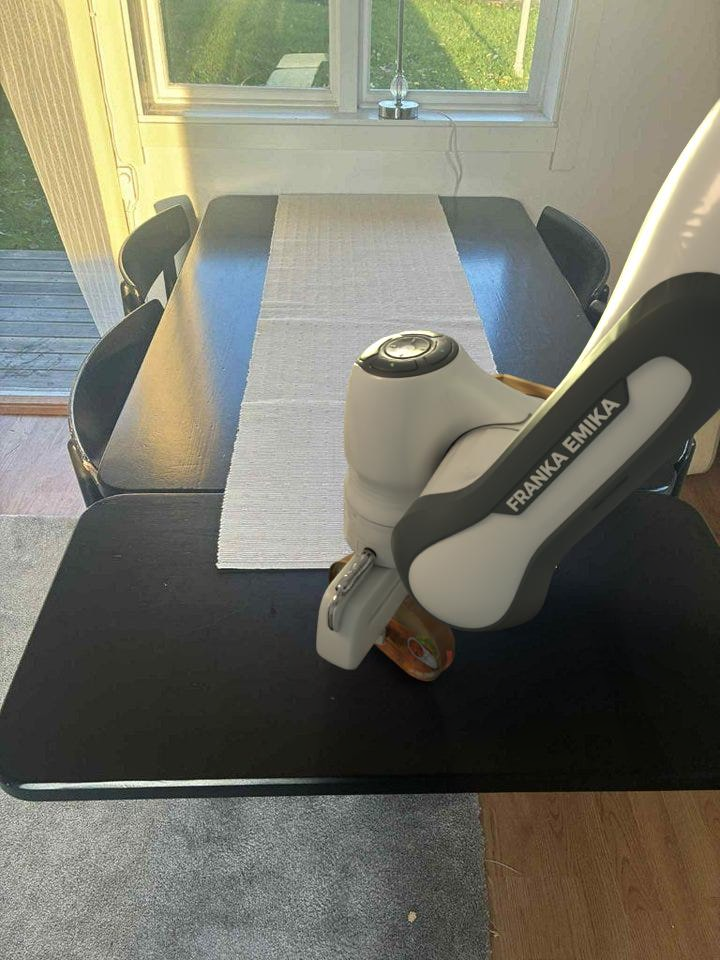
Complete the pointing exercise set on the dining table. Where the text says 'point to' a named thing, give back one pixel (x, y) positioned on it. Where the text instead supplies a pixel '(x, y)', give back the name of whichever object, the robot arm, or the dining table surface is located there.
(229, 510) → the dining table surface
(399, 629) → the tin
